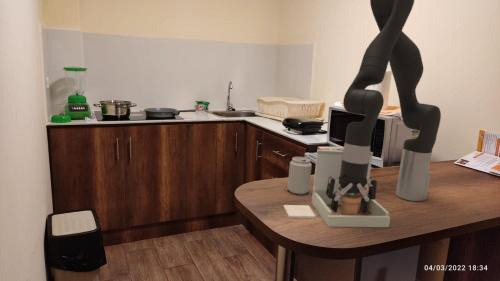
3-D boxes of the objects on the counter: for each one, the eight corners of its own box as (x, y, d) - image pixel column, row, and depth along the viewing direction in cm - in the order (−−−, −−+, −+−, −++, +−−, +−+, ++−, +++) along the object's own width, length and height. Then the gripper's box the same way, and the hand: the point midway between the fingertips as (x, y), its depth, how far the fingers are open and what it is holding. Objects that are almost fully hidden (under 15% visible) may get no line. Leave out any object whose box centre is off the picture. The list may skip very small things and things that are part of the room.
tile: (308, 207, 116) (308, 205, 116) (315, 218, 108) (315, 216, 108) (283, 206, 115) (283, 205, 115) (288, 217, 107) (289, 215, 107)
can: (308, 196, 125) (311, 162, 123) (286, 193, 126) (289, 160, 124) (309, 189, 132) (312, 157, 130) (288, 186, 134) (291, 154, 131)
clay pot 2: (361, 205, 120) (365, 179, 118) (369, 213, 114) (373, 185, 112) (344, 205, 119) (348, 179, 117) (351, 212, 114) (354, 185, 112)
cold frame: (364, 203, 122) (371, 151, 118) (388, 227, 105) (398, 167, 101) (311, 202, 120) (317, 149, 116) (328, 226, 103) (335, 165, 99)
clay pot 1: (353, 214, 112) (357, 186, 110) (361, 223, 107) (365, 193, 105) (335, 214, 112) (338, 186, 110) (342, 222, 106) (345, 193, 104)
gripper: (373, 156, 110) (366, 207, 113) (327, 154, 108) (321, 206, 112) (385, 163, 102) (376, 217, 106) (335, 161, 101) (329, 216, 104)
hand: (348, 211), depth 109 cm, fingers open, 8 cm apart
